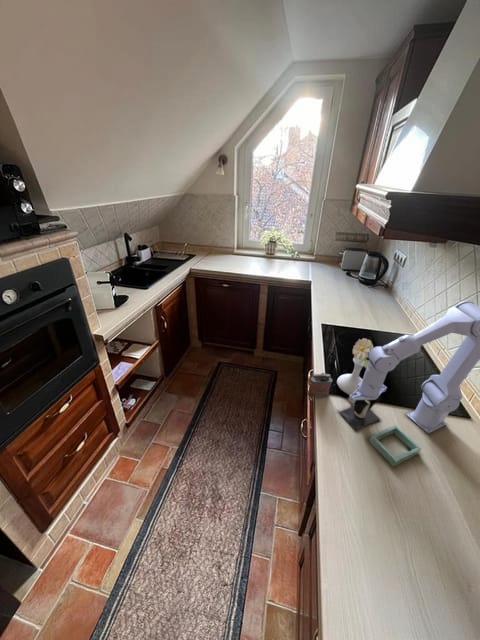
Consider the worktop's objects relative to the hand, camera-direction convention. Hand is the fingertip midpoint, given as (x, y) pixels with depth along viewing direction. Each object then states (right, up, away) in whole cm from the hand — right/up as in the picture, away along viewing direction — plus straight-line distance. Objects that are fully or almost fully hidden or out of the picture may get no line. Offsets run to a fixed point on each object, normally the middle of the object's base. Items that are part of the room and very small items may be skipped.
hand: (361, 410), depth 88 cm
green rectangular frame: (+6, -8, -8) cm, 13 cm away
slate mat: (0, -3, +2) cm, 3 cm away
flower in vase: (+2, +4, +13) cm, 13 cm away
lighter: (-12, +3, +10) cm, 16 cm away
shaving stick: (0, -2, +1) cm, 2 cm away
